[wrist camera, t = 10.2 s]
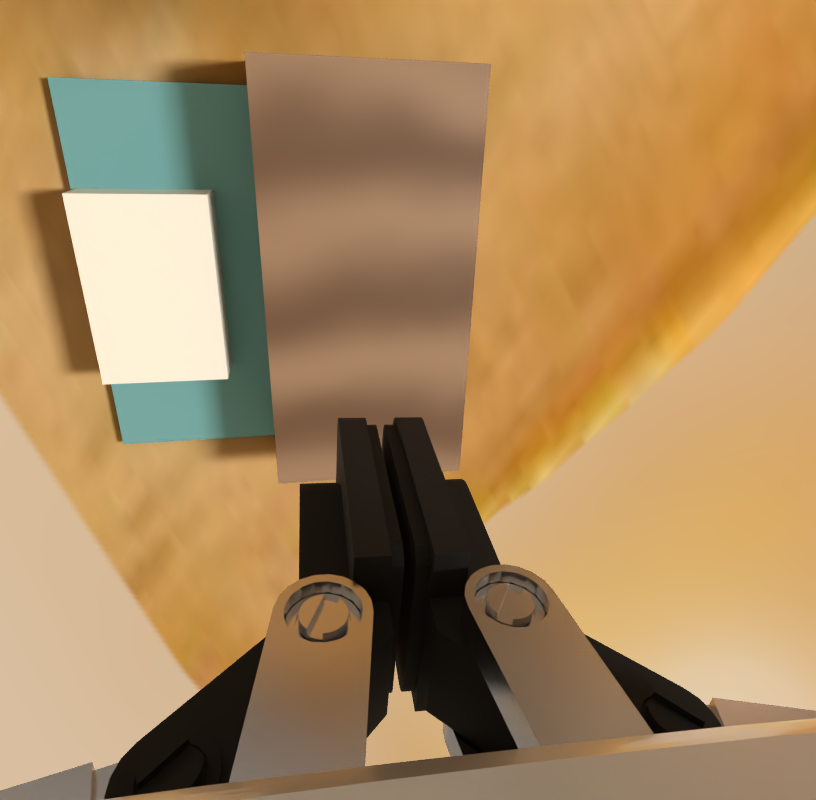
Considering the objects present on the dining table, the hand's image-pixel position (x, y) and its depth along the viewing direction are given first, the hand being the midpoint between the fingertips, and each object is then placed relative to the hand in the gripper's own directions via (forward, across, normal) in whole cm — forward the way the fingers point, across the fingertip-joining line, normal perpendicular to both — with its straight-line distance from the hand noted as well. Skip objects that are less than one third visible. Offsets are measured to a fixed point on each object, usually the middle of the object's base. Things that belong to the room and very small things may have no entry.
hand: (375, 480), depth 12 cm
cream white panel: (+19, +8, +2) cm, 21 cm away
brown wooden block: (+21, -2, +2) cm, 21 cm away
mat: (+21, +8, +2) cm, 23 cm away
